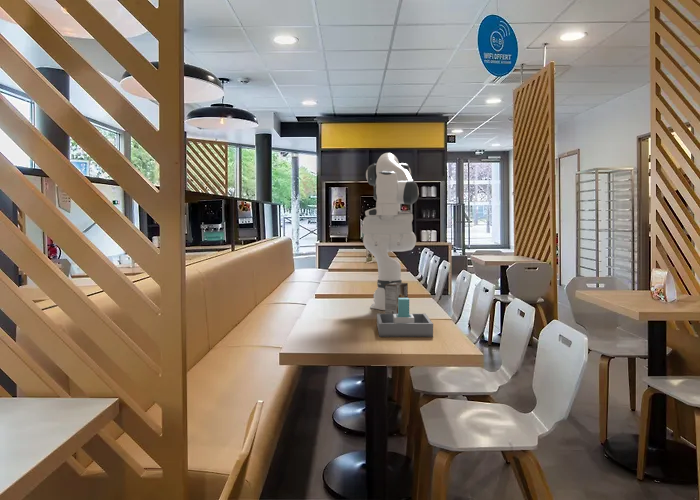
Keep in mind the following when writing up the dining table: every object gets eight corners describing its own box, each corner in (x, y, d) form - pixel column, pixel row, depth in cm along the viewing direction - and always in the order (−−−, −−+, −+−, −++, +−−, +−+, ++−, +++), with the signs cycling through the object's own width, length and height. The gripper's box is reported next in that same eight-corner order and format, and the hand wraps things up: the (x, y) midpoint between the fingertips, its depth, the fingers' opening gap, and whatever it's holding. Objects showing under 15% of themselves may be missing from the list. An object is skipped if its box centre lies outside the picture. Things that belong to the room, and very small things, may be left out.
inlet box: (376, 325, 203) (376, 311, 202) (425, 325, 203) (425, 311, 202) (379, 337, 183) (379, 321, 182) (433, 337, 183) (433, 321, 182)
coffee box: (395, 317, 219) (395, 281, 218) (408, 319, 215) (408, 282, 214) (384, 321, 212) (384, 284, 211) (397, 322, 208) (397, 285, 207)
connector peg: (397, 327, 195) (398, 297, 194) (408, 327, 195) (408, 297, 194) (398, 330, 191) (398, 299, 190) (409, 330, 191) (409, 299, 190)
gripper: (412, 211, 201) (411, 245, 202) (361, 211, 201) (362, 245, 202) (413, 211, 195) (413, 245, 195) (362, 211, 195) (362, 246, 196)
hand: (387, 245), depth 199 cm, fingers open, 8 cm apart
